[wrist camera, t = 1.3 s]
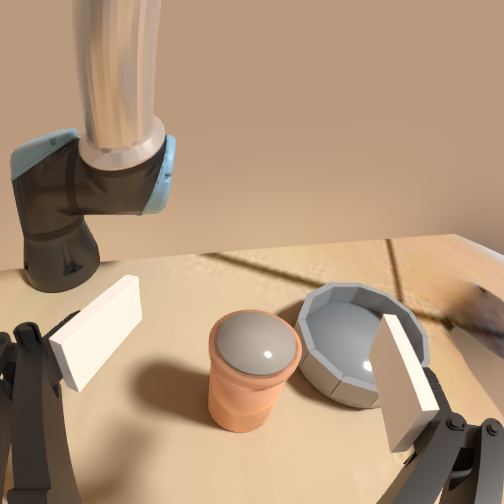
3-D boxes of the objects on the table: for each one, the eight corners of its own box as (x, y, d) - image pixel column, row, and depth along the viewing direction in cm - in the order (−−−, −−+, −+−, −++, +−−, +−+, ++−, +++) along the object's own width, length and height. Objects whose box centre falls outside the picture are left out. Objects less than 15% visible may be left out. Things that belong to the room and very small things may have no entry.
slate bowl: (279, 303, 44) (285, 281, 42) (382, 301, 48) (392, 282, 46) (311, 421, 28) (325, 404, 25) (432, 390, 32) (449, 373, 29)
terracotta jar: (204, 378, 31) (207, 306, 24) (266, 377, 33) (291, 307, 26) (207, 435, 25) (211, 381, 18) (277, 432, 26) (313, 376, 20)
